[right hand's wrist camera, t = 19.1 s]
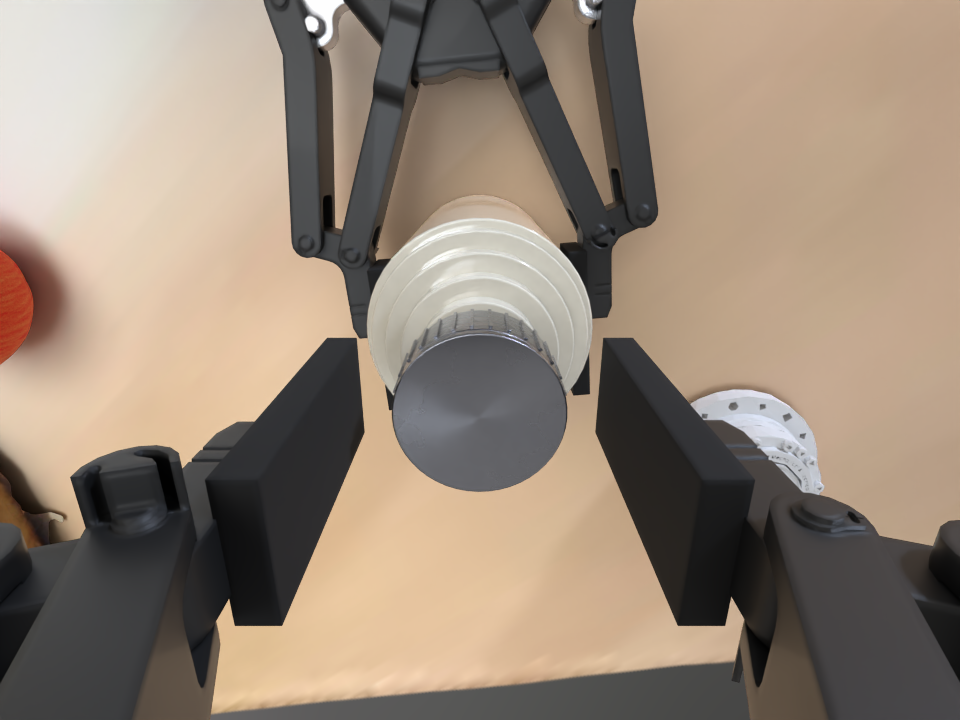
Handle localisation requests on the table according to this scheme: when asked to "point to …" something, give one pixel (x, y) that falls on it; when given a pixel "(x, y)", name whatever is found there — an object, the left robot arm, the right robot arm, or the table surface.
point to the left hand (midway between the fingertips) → (488, 389)
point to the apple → (13, 307)
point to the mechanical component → (769, 431)
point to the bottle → (479, 284)
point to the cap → (479, 402)
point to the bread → (25, 518)
